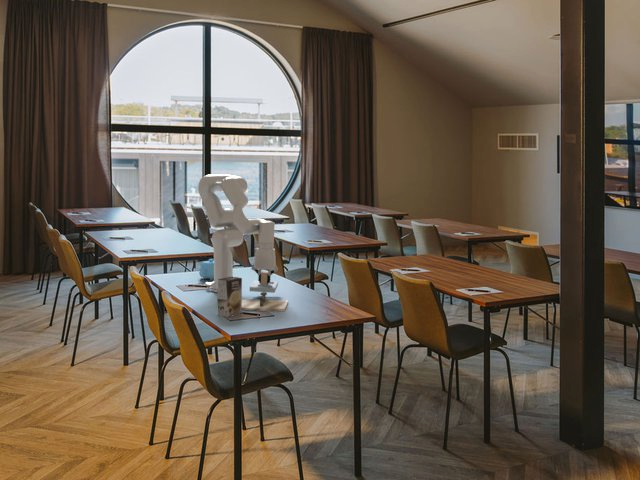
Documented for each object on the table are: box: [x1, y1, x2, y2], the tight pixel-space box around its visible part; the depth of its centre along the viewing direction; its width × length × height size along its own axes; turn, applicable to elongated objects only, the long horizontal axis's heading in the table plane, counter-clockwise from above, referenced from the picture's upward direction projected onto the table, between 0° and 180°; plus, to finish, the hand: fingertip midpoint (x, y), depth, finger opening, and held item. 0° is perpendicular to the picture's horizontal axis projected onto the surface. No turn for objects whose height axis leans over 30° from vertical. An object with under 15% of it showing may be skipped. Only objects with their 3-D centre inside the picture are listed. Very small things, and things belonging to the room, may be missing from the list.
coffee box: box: [217, 276, 243, 318], centre depth 308 cm, size 9×6×16 cm
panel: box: [249, 271, 279, 294], centre depth 344 cm, size 12×16×8 cm
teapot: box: [198, 258, 214, 281], centre depth 394 cm, size 15×14×11 cm
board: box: [242, 292, 289, 312], centre depth 325 cm, size 22×18×6 cm
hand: (264, 282), depth 344 cm, fingers closed on panel, 3 cm apart
